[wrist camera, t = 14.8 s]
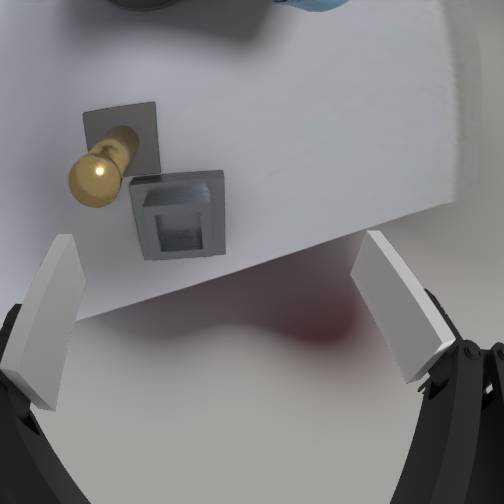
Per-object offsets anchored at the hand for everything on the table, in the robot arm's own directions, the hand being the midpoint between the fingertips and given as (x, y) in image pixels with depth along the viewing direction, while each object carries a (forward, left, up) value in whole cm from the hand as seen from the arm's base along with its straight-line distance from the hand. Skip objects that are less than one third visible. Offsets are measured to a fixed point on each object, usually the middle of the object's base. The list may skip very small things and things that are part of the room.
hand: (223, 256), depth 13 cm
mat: (+4, -13, -33) cm, 36 cm away
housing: (+17, -5, -33) cm, 37 cm away
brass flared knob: (+4, -13, -32) cm, 35 cm away
